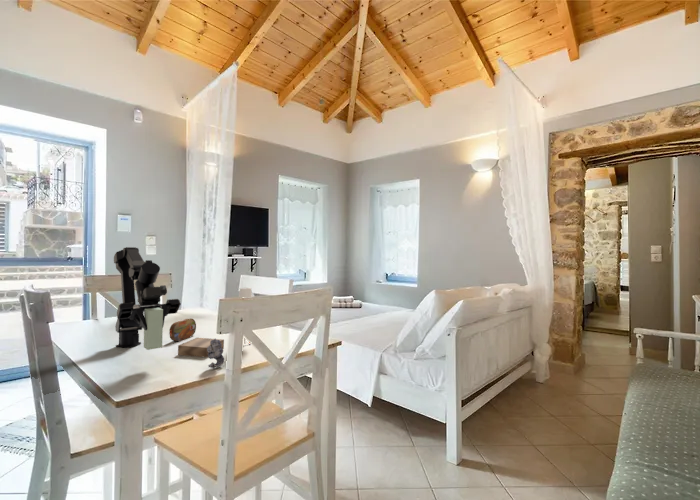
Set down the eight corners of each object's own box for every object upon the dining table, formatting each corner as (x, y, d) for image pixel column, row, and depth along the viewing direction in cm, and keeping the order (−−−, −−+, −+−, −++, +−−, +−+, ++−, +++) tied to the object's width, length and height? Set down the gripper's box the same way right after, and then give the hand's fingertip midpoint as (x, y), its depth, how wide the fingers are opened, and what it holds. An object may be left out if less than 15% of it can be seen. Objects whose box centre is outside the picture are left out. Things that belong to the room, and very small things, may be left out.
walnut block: (177, 355, 131) (178, 345, 131) (197, 347, 143) (197, 337, 143) (206, 358, 129) (206, 347, 129) (223, 349, 141) (223, 339, 141)
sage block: (143, 346, 117) (144, 308, 117) (158, 344, 120) (159, 307, 120) (147, 349, 114) (148, 310, 114) (162, 347, 117) (163, 309, 117)
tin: (174, 343, 146) (174, 323, 146) (167, 342, 147) (168, 323, 147) (196, 334, 161) (197, 316, 161) (190, 334, 161) (191, 316, 161)
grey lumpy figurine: (213, 371, 115) (214, 341, 115) (203, 367, 118) (204, 338, 118) (227, 366, 119) (227, 338, 119) (217, 363, 122) (217, 335, 122)
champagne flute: (246, 346, 143) (247, 289, 143) (232, 344, 146) (233, 288, 145) (255, 342, 150) (256, 287, 150) (242, 341, 152) (243, 287, 152)
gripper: (119, 279, 113) (126, 318, 105) (179, 276, 126) (189, 311, 118) (113, 299, 119) (120, 338, 111) (171, 295, 132) (181, 329, 124)
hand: (154, 328), depth 116 cm, fingers closed on sage block, 4 cm apart
